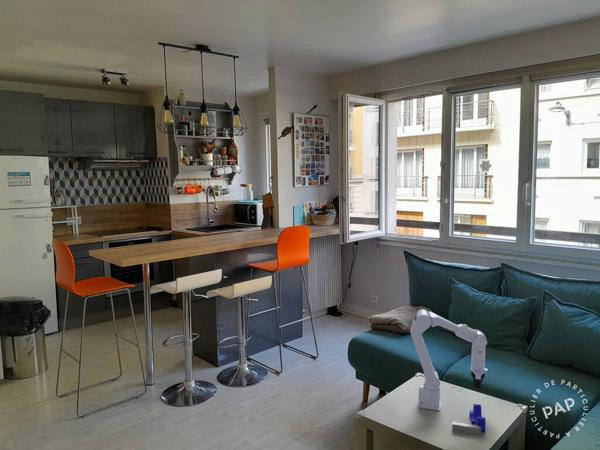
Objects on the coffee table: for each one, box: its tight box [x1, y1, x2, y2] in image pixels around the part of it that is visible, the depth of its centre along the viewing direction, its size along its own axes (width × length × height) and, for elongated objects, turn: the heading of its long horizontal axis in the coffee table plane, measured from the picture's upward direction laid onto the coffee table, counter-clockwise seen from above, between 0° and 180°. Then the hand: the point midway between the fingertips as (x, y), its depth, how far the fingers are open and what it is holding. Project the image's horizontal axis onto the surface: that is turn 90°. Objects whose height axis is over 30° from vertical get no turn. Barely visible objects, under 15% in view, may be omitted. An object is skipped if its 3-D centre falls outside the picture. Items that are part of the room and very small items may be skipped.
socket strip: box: [451, 421, 482, 437], centre depth 187 cm, size 11×2×3 cm, turn 70°
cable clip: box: [469, 403, 486, 434], centre depth 192 cm, size 12×4×6 cm, turn 167°
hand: (477, 387), depth 204 cm, fingers closed
